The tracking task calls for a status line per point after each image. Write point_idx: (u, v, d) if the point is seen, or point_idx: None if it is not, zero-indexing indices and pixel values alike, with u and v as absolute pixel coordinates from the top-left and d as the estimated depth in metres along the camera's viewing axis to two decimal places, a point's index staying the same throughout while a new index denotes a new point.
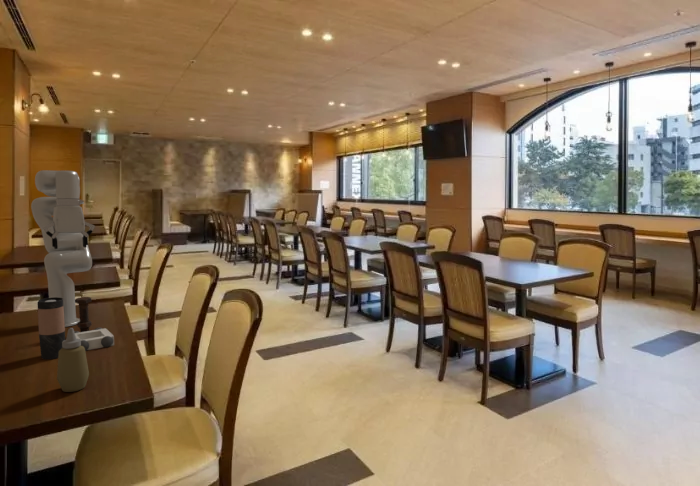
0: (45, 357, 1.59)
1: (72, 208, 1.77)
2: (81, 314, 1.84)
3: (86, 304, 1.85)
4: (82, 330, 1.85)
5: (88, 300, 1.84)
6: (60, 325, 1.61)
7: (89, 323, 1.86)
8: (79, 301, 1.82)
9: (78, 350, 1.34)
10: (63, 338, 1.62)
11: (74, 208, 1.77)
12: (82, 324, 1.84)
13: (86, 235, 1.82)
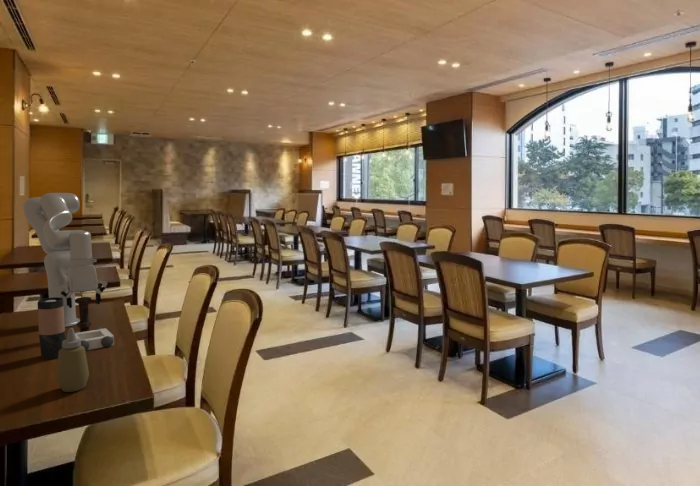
0: (45, 357, 1.59)
1: (86, 267, 1.82)
2: (81, 314, 1.84)
3: (86, 304, 1.85)
4: (82, 330, 1.85)
5: (88, 300, 1.84)
6: (60, 325, 1.61)
7: (89, 323, 1.86)
8: (79, 301, 1.82)
9: (78, 350, 1.34)
10: (63, 338, 1.62)
11: (87, 267, 1.83)
12: (82, 324, 1.84)
13: (99, 292, 1.87)
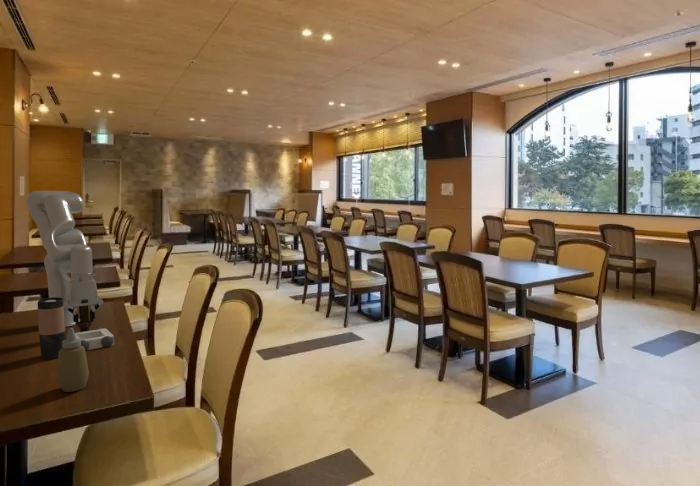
0: (45, 357, 1.59)
1: (86, 282, 1.83)
2: (81, 314, 1.84)
3: None
4: (82, 330, 1.85)
5: None
6: (60, 325, 1.61)
7: (89, 323, 1.86)
8: None
9: (78, 350, 1.34)
10: (63, 338, 1.62)
11: (88, 282, 1.84)
12: (82, 324, 1.84)
13: (93, 310, 1.87)
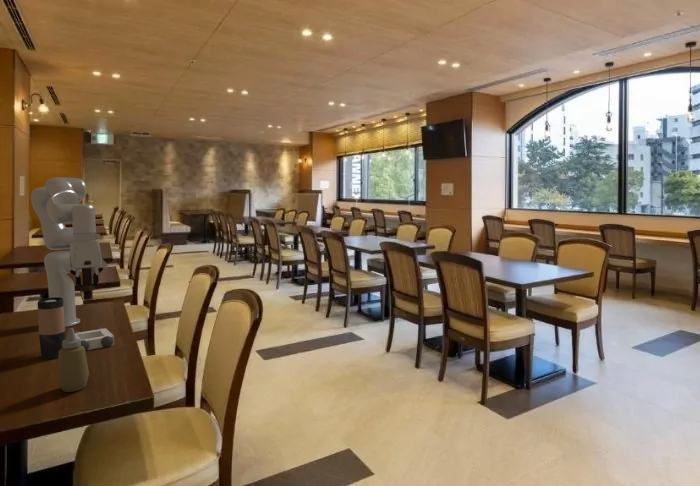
0: (45, 357, 1.59)
1: (89, 243, 1.73)
2: (84, 277, 1.74)
3: None
4: (85, 294, 1.74)
5: None
6: (60, 325, 1.61)
7: (92, 286, 1.75)
8: None
9: (78, 350, 1.34)
10: (63, 338, 1.62)
11: (91, 243, 1.73)
12: (85, 287, 1.74)
13: (97, 273, 1.76)
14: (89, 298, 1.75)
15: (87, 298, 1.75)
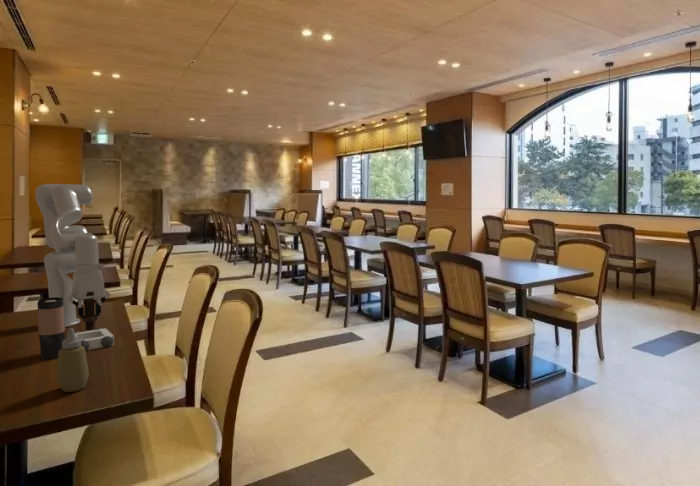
0: (45, 357, 1.59)
1: (92, 274, 1.72)
2: (86, 307, 1.73)
3: None
4: (87, 324, 1.73)
5: None
6: (60, 325, 1.61)
7: (95, 317, 1.74)
8: None
9: (78, 350, 1.34)
10: (63, 338, 1.62)
11: (94, 273, 1.72)
12: (87, 318, 1.72)
13: (99, 303, 1.75)
14: (91, 329, 1.74)
15: (89, 329, 1.74)
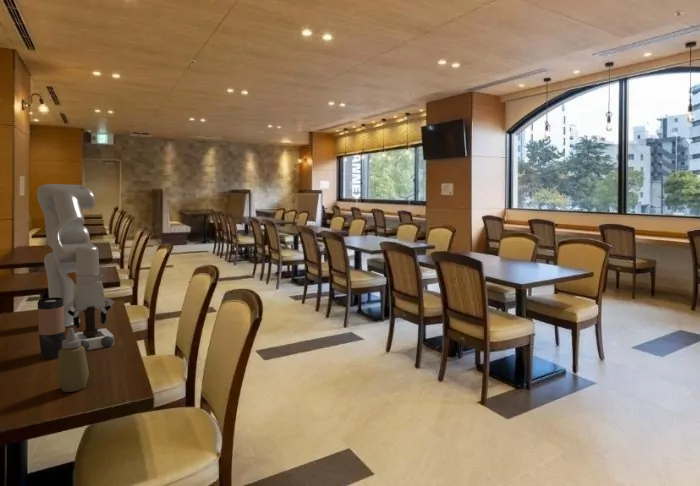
0: (45, 357, 1.59)
1: (92, 284, 1.72)
2: (87, 322, 1.73)
3: (92, 311, 1.74)
4: None
5: None
6: (60, 325, 1.61)
7: (95, 331, 1.75)
8: None
9: (78, 350, 1.34)
10: (63, 338, 1.62)
11: (94, 284, 1.72)
12: (88, 333, 1.73)
13: (104, 311, 1.77)
14: None
15: None
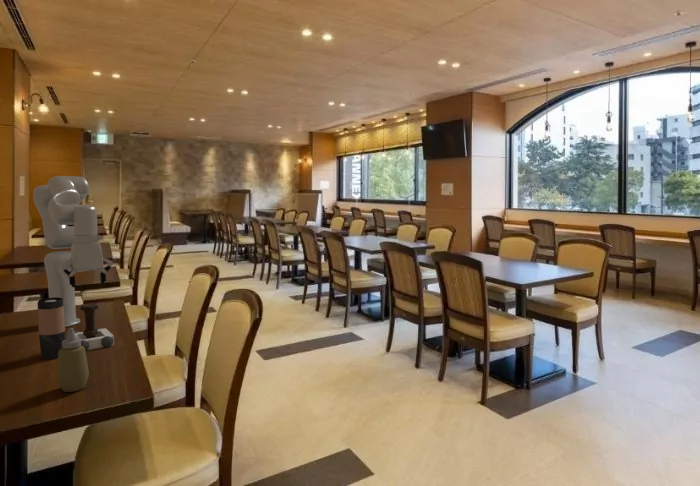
0: (45, 357, 1.59)
1: (90, 245, 1.70)
2: (87, 322, 1.73)
3: (92, 311, 1.74)
4: None
5: (94, 307, 1.74)
6: (60, 325, 1.61)
7: (95, 331, 1.75)
8: (85, 308, 1.72)
9: (78, 350, 1.34)
10: (63, 338, 1.62)
11: (92, 245, 1.71)
12: (88, 333, 1.73)
13: (104, 272, 1.75)
14: None
15: None
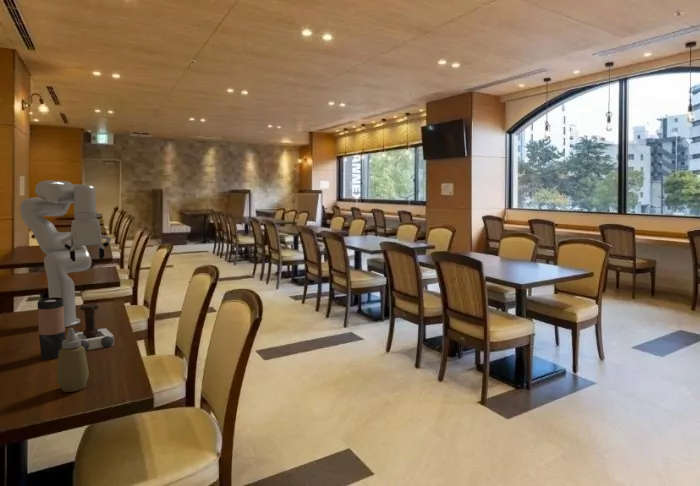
0: (45, 357, 1.59)
1: (89, 221, 1.81)
2: (87, 322, 1.73)
3: (92, 311, 1.74)
4: None
5: (94, 307, 1.74)
6: (60, 325, 1.61)
7: (95, 331, 1.75)
8: (85, 308, 1.72)
9: (78, 350, 1.34)
10: (63, 338, 1.62)
11: (91, 221, 1.82)
12: (88, 333, 1.73)
13: (103, 247, 1.86)
14: None
15: None
